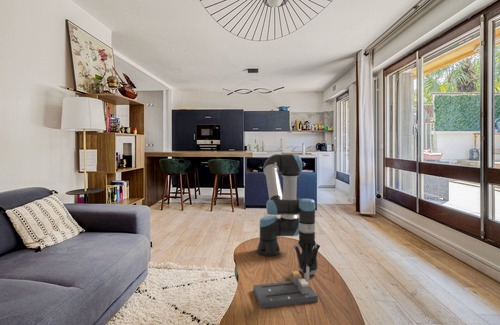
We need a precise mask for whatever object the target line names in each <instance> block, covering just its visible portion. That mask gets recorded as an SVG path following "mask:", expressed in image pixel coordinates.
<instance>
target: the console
mask: <svg viewBox="0 0 500 325" xmlns="http://www.w3.org/2000/svg"><path fill="white" fill-rule="evenodd" d="M252 287H253V288H252V289H253V294H254V295H255V298H256V300H257V303H258V305H259V308H260V309H267V308H269V309H270V308H276V307H283V306H285V307H286V306H292V305H299V304H307V303H308V304H309V303H310V304H311V303H315V302H317V303H318V302H319V296H318V295H317V293H316V292H315V290H313V288H312V287H311V285H309V294H302V293H301V292H300V291H299V289H298V285H297V286H296V285H295V284H294V283H293V281H292V280H291V281H281V282H280V281H279V282H273V283H272V282H270V283H264V284H263V283H261V284H254V285H253V286H252Z"/></svg>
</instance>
